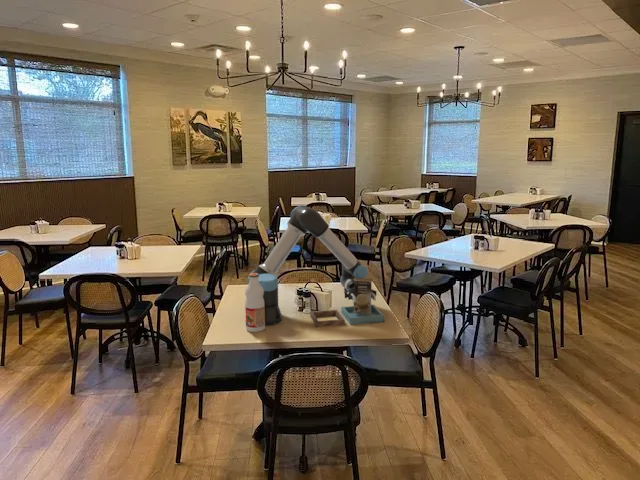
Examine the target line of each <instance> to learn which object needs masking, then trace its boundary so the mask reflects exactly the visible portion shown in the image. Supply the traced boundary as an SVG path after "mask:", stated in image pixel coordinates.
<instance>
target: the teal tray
mask: <svg viewBox="0 0 640 480" xmlns="http://www.w3.org/2000/svg"><path fill="white" fill-rule="evenodd" d="M340 308H341V311H340V314H341V316H342V317H343V318H344V320H345V321H347V322H348V324H349V325H350V326H352V325H353V324H354V325H364V324H377V323H385V318H386V317H385V314H384V313H383V312H382V311H380V310H379V309H378V307H376V305H374V304H371V314H354V305H351V306H341V307H340ZM354 325H353V326H354Z"/></svg>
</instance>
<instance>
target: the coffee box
mask: <svg viewBox="0 0 640 480" xmlns="http://www.w3.org/2000/svg"><path fill="white" fill-rule="evenodd" d="M371 289H372V281H371V280H370V281H367V280H356V281H354V296H355V297H356V302H354V301H353V306H354V314H371V305H372V298H371Z"/></svg>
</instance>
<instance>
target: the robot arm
mask: <svg viewBox="0 0 640 480" xmlns="http://www.w3.org/2000/svg"><path fill="white" fill-rule="evenodd" d="M286 224H287V228H286V230H285V231H284V232H283V234H282V235H281V237H280V238H279V240H278V241H277V242H276V244H275V245H274V247H273V249H272V250H271V252H270V253H269V255H268V256H267V258H266V259H265V261H264V262H263V263H262V264H259V265H258V266H257V268H256V269H255V270H252V272H251V273H258V274H259V278H258V279H259V283H260V285H261V286H262V287H263V289H264V294H263V298H264V303H265V326H271V325H277V324H280V323H281V322H282V321H283V315H282V312H281V309H280V306H279V280H278V276H277V275H278V271H279V270H280V268H281V267H282V265H283V264H284V262H285V261H286V259H287V258H288V256H289V255H290V254H291V252H292V251H293V249H294V247H295V246H296V244H297V243H298V242H299V240H300V239H301V237H303V236H305V235H306V234H307V233H308V232H309V233H310V234H311V235H312V236H313V237H314V238H315V239H319V241H320V242H321V243H322V244H323V245H324V246H325V247H326V248H327V250H329V251H330V252H331V253H332V254H333V256H335V258H337V260H338V261H339V262H340V263H341V277H340V280H339V281H340V283H341V285H342V287H343V294H344V299H348V300H352V301H353V303H354V302H356V297H355V296H354V281H357V279H358V280H362V279H363V280H364V279H365V278H366V277H367V275H368V273H369V272H368V268H367V266H365V265H364V264H361V262H360V260H358V259H357V258H356V257H355V255H354V254H353V253H352V252H351V251H350V250H349V248H348V247H347V246H346V245H345V244H344V243H343V242H342V241H341V240H340V239H339V238H338V236H336V234H335V233H334V232H333V231H332V230H331V229H330V225H329V224H328V223H327V221H326V220H325V219H324V218H323V216H321V214H320V213H319V212H318V211H317V210H315V209H314V208H311V207H308V206H306V205H299V206H296V207H294V209H292V211H291V212H290V217H289V220H287V223H286ZM249 281H250V278H249V276H248V278H247V286H248V285H249ZM376 296H377V290H374V289H373V288H371V300H373V301H376V300H377V297H376Z"/></svg>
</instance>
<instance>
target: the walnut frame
mask: <svg viewBox="0 0 640 480" xmlns="http://www.w3.org/2000/svg"><path fill="white" fill-rule="evenodd" d="M309 313H310V316H309V317H310V318H311V320H312V321H313V323H314V325H315V327H316V328H321V327H330V326H331V327H332V326H343V325H346V324H345V321H346V319H345V318H344V316H343V315H342V314H341V312H339V311H338V310H337V309H329V310H317V311H309ZM326 316H327V317H329V316H335V317H336V318H337V319H329V320H328V319H327V320H319V319H318V318H317V317H326Z"/></svg>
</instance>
